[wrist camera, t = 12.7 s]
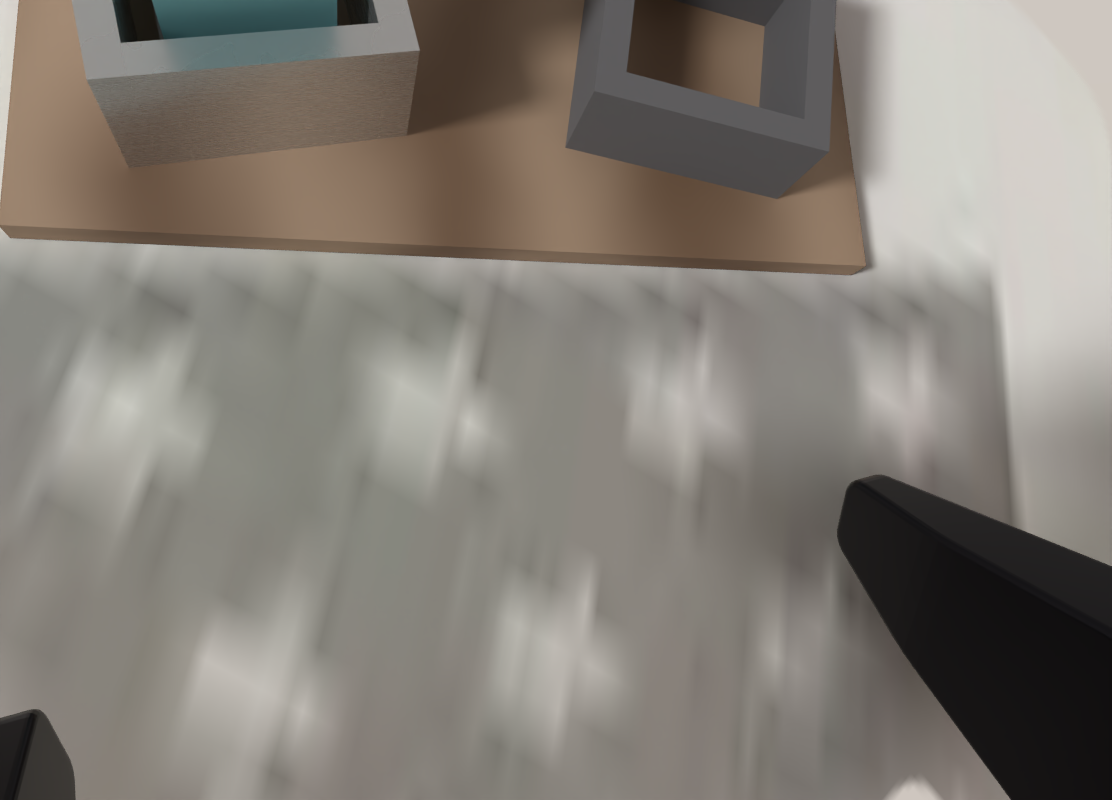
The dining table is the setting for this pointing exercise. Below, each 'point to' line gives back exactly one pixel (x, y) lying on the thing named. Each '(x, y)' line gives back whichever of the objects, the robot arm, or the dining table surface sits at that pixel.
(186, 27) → the plug
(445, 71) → the panel board
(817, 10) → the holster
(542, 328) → the dining table surface
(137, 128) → the port
